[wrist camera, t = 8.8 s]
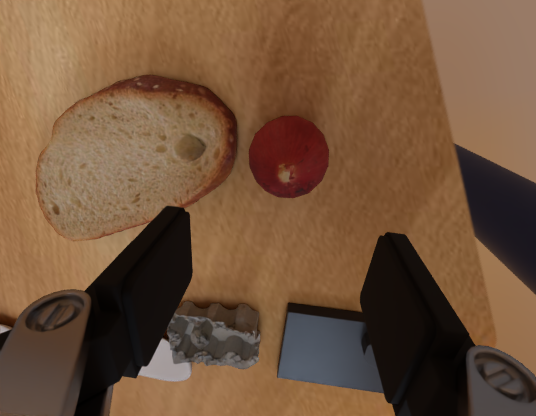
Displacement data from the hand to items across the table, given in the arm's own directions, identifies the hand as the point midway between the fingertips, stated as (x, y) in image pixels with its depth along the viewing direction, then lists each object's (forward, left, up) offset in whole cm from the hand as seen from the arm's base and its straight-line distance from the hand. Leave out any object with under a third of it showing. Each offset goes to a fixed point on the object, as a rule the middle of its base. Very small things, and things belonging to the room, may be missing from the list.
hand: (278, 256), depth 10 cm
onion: (0, 0, -16) cm, 16 cm away
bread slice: (+14, +4, -16) cm, 22 cm away
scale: (-9, +24, -16) cm, 30 cm away
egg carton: (+6, +23, -16) cm, 29 cm away
